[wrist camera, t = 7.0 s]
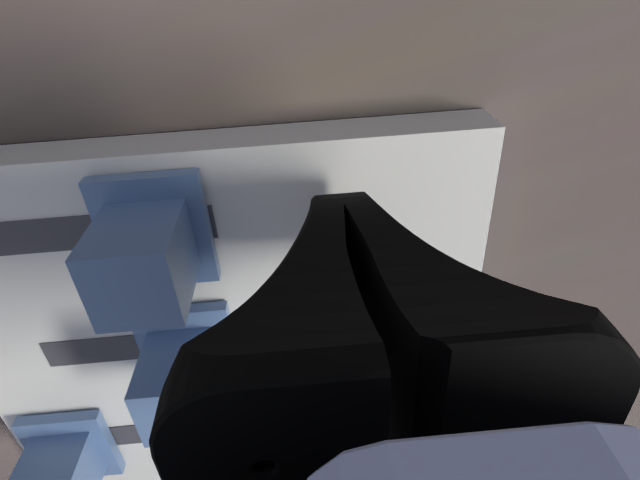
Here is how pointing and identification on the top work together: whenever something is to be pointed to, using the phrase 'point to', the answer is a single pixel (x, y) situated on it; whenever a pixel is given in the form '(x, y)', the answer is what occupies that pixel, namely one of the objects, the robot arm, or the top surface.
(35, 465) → the switch tab
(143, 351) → the switch tab
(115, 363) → the switch board
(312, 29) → the top surface
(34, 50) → the top surface
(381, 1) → the top surface
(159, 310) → the switch tab
